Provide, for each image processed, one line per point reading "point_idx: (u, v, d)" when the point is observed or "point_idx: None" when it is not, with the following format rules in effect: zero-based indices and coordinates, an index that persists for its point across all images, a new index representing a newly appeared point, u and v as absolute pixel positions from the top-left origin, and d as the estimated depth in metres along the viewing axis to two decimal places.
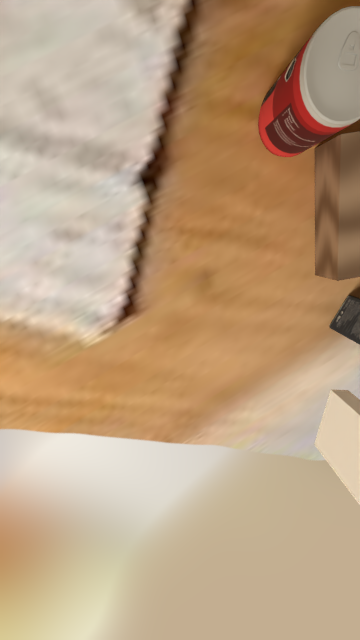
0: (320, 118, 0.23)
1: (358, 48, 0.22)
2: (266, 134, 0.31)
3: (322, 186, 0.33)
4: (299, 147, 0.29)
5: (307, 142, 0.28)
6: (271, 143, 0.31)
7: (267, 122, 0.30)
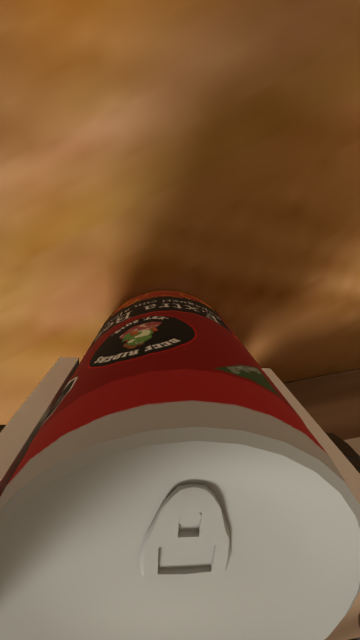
0: None
1: (220, 529, 0.05)
2: None
3: None
4: None
5: None
6: None
7: None
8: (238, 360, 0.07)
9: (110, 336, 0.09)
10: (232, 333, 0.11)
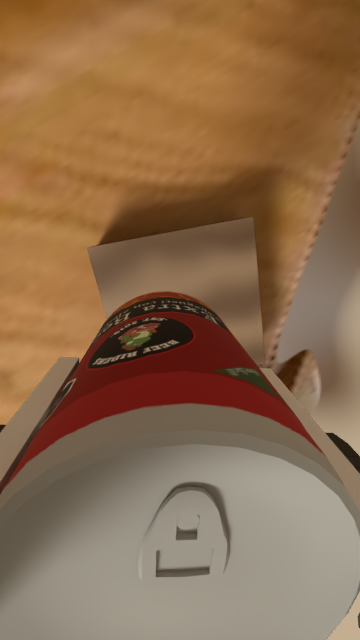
0: None
1: (218, 532, 0.05)
2: None
3: None
4: None
5: None
6: None
7: None
8: (237, 362, 0.07)
9: (109, 337, 0.09)
10: (231, 334, 0.11)
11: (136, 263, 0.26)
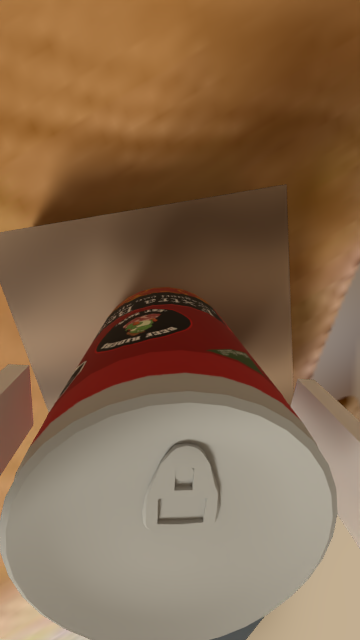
0: (112, 638, 0.07)
1: (210, 483, 0.06)
2: None
3: None
4: None
5: None
6: None
7: None
8: (228, 345, 0.08)
9: (114, 327, 0.10)
10: (226, 325, 0.12)
11: (76, 265, 0.15)
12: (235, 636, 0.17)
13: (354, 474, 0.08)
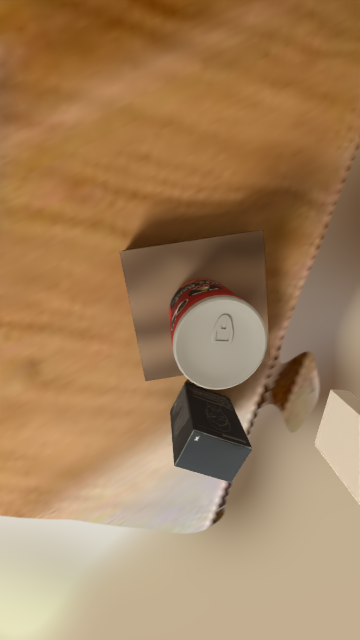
0: (197, 384, 0.22)
1: (231, 327, 0.21)
2: None
3: None
4: None
5: None
6: None
7: None
8: None
9: (191, 290, 0.25)
10: None
11: (161, 266, 0.30)
12: (234, 464, 0.32)
13: None
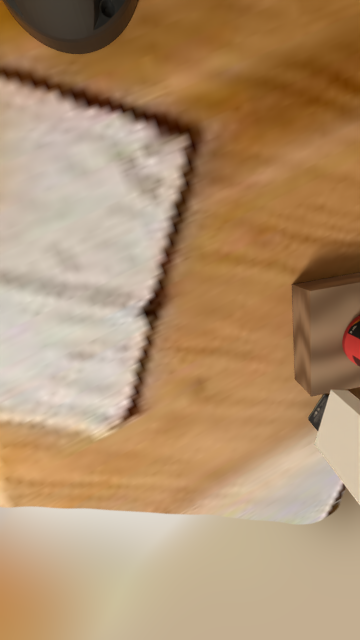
0: None
1: None
2: (352, 358, 0.36)
3: (298, 317, 0.39)
4: None
5: None
6: (356, 364, 0.36)
7: (356, 355, 0.34)
8: None
9: None
10: None
11: (341, 302, 0.35)
12: None
13: None
